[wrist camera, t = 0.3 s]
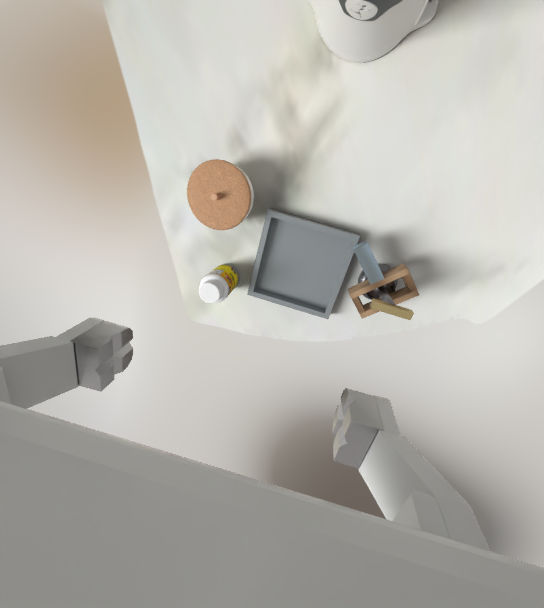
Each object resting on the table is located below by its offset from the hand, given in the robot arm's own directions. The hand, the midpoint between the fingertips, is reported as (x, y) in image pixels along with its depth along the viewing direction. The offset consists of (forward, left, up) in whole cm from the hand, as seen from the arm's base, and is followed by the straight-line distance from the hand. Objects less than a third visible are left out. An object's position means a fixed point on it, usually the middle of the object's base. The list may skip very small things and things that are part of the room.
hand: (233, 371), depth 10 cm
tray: (+8, +1, -46) cm, 47 cm away
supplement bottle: (+15, -13, -46) cm, 50 cm away
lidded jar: (-1, -15, -46) cm, 48 cm away
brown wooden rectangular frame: (+5, +14, -42) cm, 44 cm away
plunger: (+7, +16, -46) cm, 49 cm away
